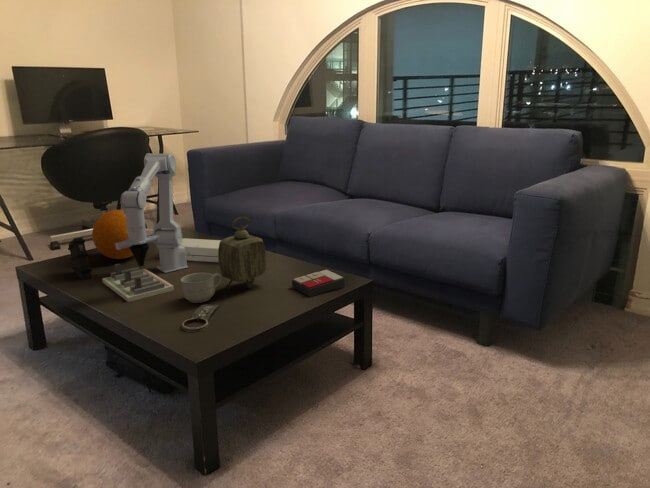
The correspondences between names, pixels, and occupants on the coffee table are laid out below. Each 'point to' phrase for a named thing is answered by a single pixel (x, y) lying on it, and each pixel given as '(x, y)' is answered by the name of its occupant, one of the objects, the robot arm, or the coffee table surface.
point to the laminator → (201, 249)
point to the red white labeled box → (318, 283)
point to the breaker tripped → (137, 282)
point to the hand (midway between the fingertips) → (140, 265)
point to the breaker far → (118, 269)
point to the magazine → (80, 258)
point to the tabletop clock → (241, 256)
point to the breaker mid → (127, 275)
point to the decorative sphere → (111, 234)
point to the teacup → (199, 286)
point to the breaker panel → (127, 289)
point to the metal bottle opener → (200, 317)
